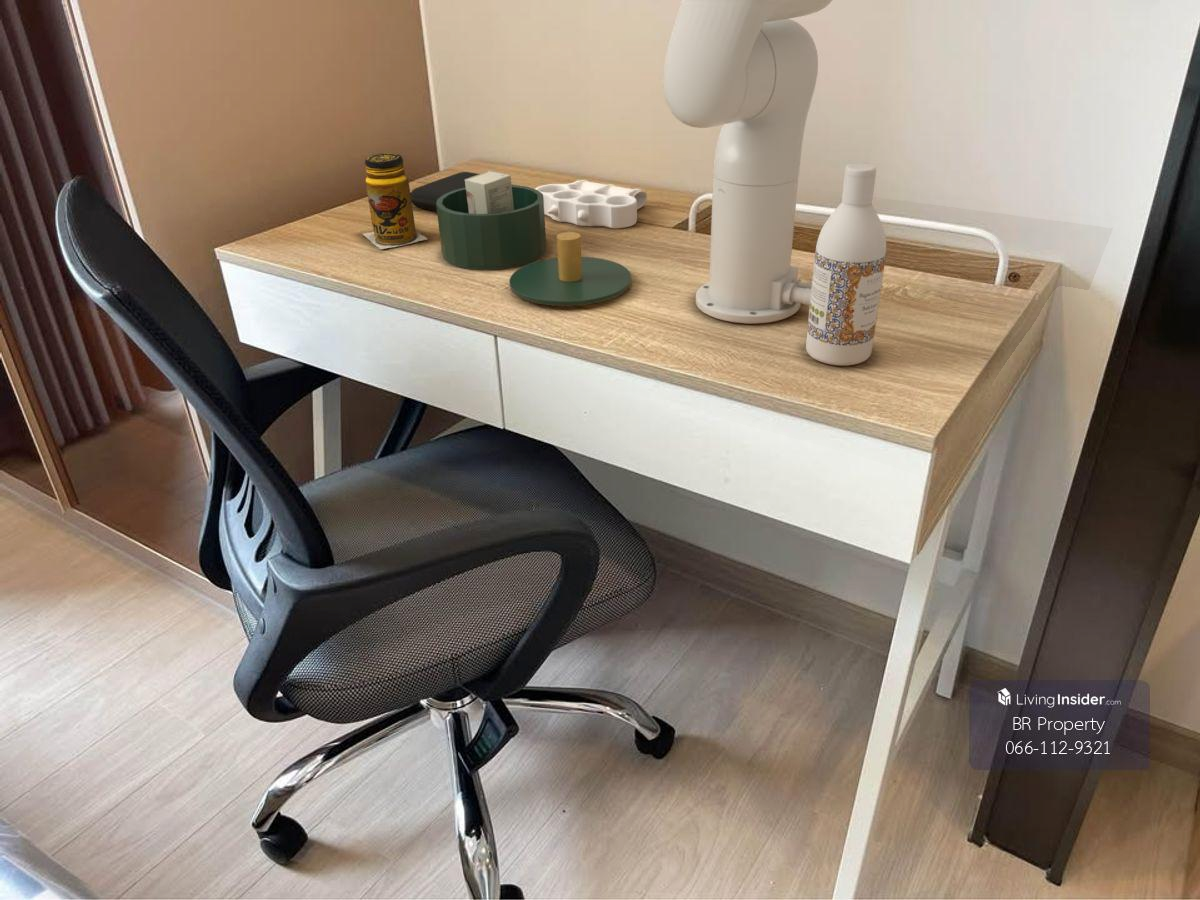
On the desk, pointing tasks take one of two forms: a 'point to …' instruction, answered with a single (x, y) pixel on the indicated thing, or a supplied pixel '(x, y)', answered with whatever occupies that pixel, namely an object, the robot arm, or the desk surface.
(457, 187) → the carrying case
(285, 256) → the desk surface
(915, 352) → the desk surface
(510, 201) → the white cardboard carton
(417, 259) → the desk surface
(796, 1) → the robot arm
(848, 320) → the bath foam
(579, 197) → the knuckle duster
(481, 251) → the tin
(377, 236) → the condiment
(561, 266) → the tin lid
